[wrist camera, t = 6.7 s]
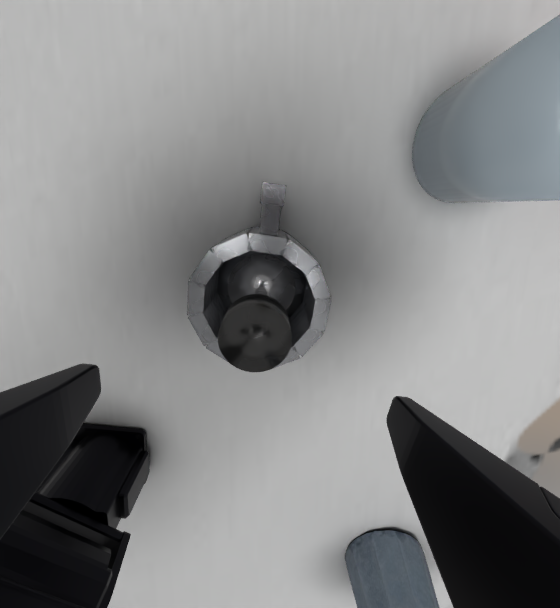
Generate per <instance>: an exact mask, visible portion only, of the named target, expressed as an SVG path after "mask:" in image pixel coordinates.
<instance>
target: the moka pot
mask: <svg viewBox="0 0 560 608" xmlns="http://www.w3.org/2000/svg"><path fill="white" fill-rule="evenodd" d="M345 561H346V565H347V569H348V573H349V577H350V581H351V585H352V589H353V593H354V596H355V600H356V604H357V608H439V605H438V601H437V598H436V594H435V591H434V587H433V584H432V580H431V576H430V572H429V569H428V565H427V562H426V559H425V556H424V552H423V550H422V547H421V545H420V544H419V542H418V541H417V540H416V539H414V538H413V537H412V536H410V535H407V534H405V533H402V532H398V531H391V530H384V531H374V532H370V533H366V534H364V535H362V536H360V537H358V538H357V539H355V540H354V541H353V542H352V543H351V544H350V545H349V547H348V549H347V551H346V556H345Z"/></svg>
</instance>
